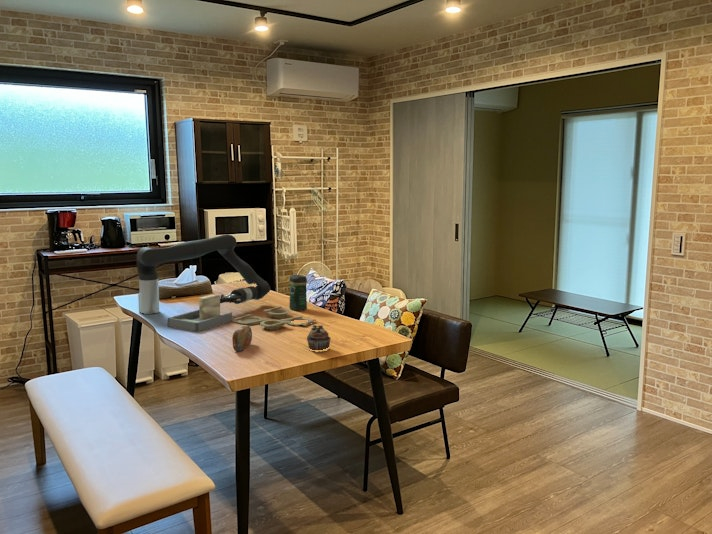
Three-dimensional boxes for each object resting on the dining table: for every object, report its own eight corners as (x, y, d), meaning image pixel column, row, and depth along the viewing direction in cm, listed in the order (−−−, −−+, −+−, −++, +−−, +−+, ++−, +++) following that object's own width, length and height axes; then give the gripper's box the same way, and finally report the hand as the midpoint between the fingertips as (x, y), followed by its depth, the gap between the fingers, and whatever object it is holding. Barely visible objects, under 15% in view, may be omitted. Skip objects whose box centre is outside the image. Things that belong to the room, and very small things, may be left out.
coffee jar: (309, 310, 304) (309, 275, 302) (296, 312, 300) (296, 276, 297) (299, 306, 312) (299, 273, 309) (287, 308, 307) (287, 274, 305)
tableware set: (228, 321, 279) (228, 313, 278) (275, 312, 300) (275, 304, 300) (274, 335, 255) (274, 326, 255) (322, 324, 277) (322, 316, 276)
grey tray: (167, 326, 266) (167, 318, 265) (204, 316, 287) (203, 308, 286) (197, 331, 258) (196, 323, 257) (232, 320, 279) (232, 312, 278)
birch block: (199, 318, 274) (199, 297, 273) (214, 314, 283) (213, 294, 282) (206, 319, 272) (205, 298, 271) (220, 315, 281) (219, 295, 280)
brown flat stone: (238, 353, 227) (238, 333, 226) (231, 353, 228) (230, 332, 226) (252, 343, 242) (252, 323, 240) (245, 342, 242) (245, 323, 241)
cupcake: (332, 352, 230) (332, 328, 229) (308, 353, 228) (308, 329, 227) (328, 346, 240) (328, 322, 238) (305, 347, 238) (305, 323, 236)
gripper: (231, 287, 300) (208, 292, 285) (251, 289, 294) (229, 295, 279) (231, 301, 301) (208, 307, 286) (251, 303, 295) (229, 310, 280)
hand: (219, 301), depth 283 cm, fingers closed
